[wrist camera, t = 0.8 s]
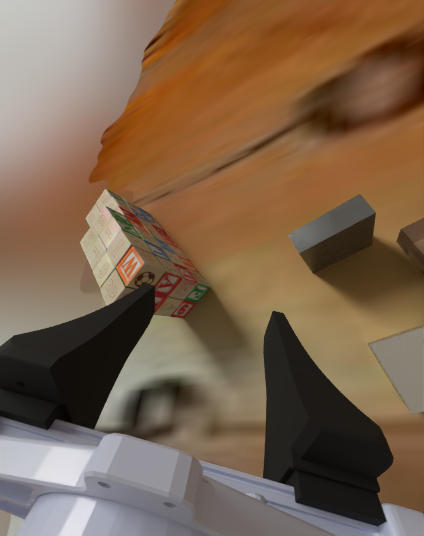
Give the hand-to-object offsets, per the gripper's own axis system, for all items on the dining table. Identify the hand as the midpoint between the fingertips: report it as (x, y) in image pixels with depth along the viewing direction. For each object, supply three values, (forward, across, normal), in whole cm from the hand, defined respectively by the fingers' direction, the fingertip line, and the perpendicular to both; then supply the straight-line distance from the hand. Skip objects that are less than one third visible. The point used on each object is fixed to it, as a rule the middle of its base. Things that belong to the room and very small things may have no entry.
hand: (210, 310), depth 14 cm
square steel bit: (+5, -16, +5) cm, 18 cm away
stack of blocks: (+21, +11, +10) cm, 26 cm away
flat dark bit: (+13, -11, 0) cm, 17 cm away
